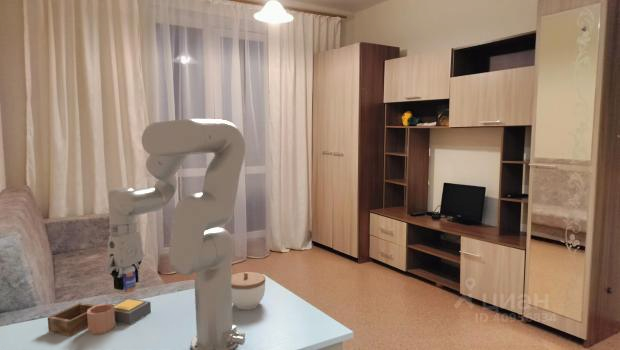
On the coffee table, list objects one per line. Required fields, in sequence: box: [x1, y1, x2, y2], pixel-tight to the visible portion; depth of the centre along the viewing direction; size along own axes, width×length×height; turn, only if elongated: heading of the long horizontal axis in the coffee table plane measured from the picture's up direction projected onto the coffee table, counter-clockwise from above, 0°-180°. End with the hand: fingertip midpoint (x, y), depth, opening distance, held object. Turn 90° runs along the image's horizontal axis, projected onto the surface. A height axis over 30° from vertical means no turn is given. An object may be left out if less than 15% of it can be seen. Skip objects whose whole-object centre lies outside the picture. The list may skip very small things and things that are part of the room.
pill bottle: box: [116, 265, 137, 295], centre depth 128 cm, size 5×5×10 cm
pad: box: [114, 299, 144, 312], centre depth 129 cm, size 6×6×1 cm
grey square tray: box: [113, 297, 152, 325], centre depth 129 cm, size 9×9×4 cm
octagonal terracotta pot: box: [87, 303, 116, 335], centre depth 121 cm, size 7×7×6 cm
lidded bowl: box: [231, 271, 266, 311], centre depth 136 cm, size 13×13×11 cm
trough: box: [47, 302, 97, 337], centre depth 123 cm, size 8×11×4 cm
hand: (126, 284), depth 129 cm, fingers closed on pill bottle, 5 cm apart
